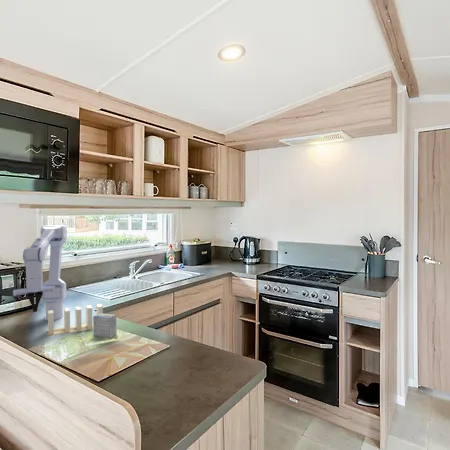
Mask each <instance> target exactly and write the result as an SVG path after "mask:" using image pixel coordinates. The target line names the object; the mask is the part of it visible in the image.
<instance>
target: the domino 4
mask: <svg viewBox="0 0 450 450" xmlns="http://www.w3.org/2000/svg"><path fill="white" fill-rule="evenodd" d="M92 323H93V307H92V305H91V304H88V305H85V324H86V326H87V327H88V328H92Z"/></svg>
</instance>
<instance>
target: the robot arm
mask: <svg viewBox="0 0 450 450" xmlns="http://www.w3.org/2000/svg"><path fill="white" fill-rule="evenodd" d="M67 233H68V230H67V227H66V225H64V224H61V225H60V224H58V225H55V224H54V225H53V224H52V225H51V224H49V225H48V224H43V225H42V226H41V228H40V237H36V239H34V241H33V242H32V243H31V245H30V246H29V247H26V248H24V250H23V252H22V260H23V264H24V267H25V282H26V283H25V284H26V285H25V286H26V288H20V289H19V288H18V289H13V290H12V296H13V297H14V296H15V297H16V296H21V295H22V296H23V295H26V297H27V299H28V300H29V302H30V305H31V307H32V308H31V309H32V312H33V313H36V312H38V308H39V304H40V302H41V300H42V301H43V302H45V306H44V307H45V316H43V317H44V320H45V321H48V311H49V310H53V316H54V321H57V320H61V319H64V305H63V304H64V302H63V301H64V300H65V298H66V297H67V293H68V291H67V283H66V282H65V281H64V280H62V279H61V269H62V252H63V245H64V244H66V242H67V235H68V234H67ZM49 246H50V252H49V267H48V268H49V269H48V279H47V280H46V281H45V282H44V283H43V281H44V280H43V279H44V278H43V270H44V269H43V261H44V260H45V257H46V251H47V250H48V248H49Z"/></svg>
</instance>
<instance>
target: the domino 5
mask: <svg viewBox="0 0 450 450" xmlns="http://www.w3.org/2000/svg"><path fill="white" fill-rule="evenodd" d="M95 307H96V309H95V310H96V312H95V313H96V314H95V315H97V314H100V313H102V314H104V306H103V304H102V303H97V304H96V306H95Z"/></svg>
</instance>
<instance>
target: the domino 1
mask: <svg viewBox="0 0 450 450" xmlns="http://www.w3.org/2000/svg"><path fill="white" fill-rule="evenodd" d="M54 321H55V320H54V316H53V310H49V311H48V320H47V325H48V326H47V327H48V328H47V330H48V333H49V335H50V334H54V329H55V328H54V327H55V326H54V325H55V323H54Z"/></svg>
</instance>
